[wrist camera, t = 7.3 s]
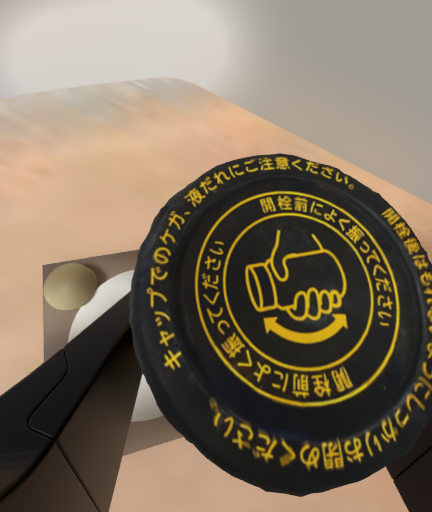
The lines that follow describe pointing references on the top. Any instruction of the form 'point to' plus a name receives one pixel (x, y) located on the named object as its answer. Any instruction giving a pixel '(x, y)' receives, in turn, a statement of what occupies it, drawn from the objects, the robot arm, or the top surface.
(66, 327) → the brown flat square slab
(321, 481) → the condiment
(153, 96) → the top surface
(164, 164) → the top surface
